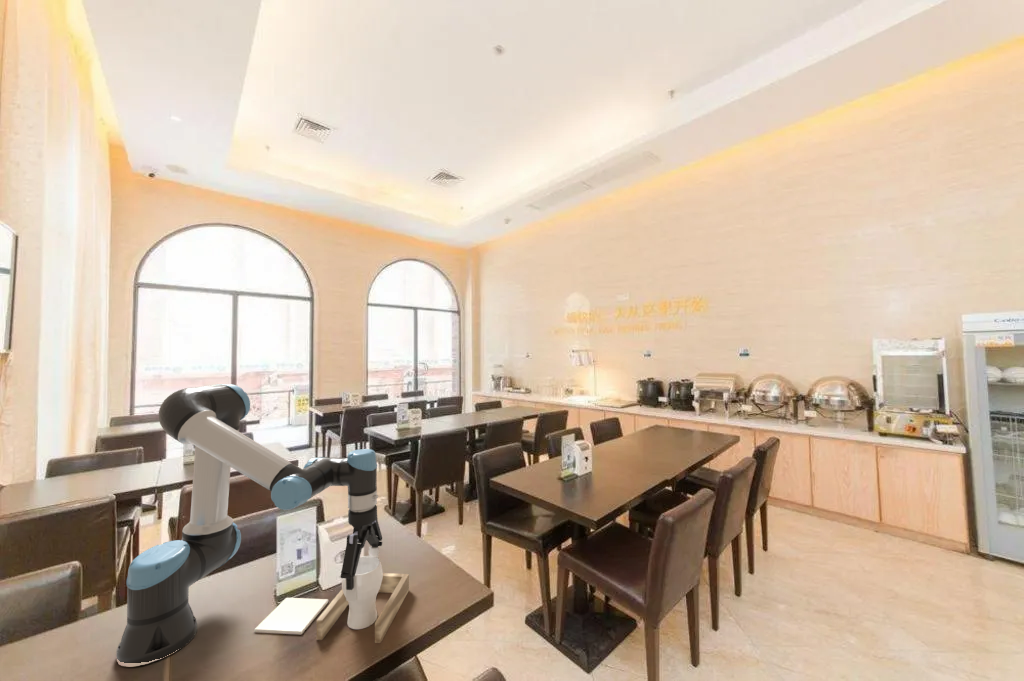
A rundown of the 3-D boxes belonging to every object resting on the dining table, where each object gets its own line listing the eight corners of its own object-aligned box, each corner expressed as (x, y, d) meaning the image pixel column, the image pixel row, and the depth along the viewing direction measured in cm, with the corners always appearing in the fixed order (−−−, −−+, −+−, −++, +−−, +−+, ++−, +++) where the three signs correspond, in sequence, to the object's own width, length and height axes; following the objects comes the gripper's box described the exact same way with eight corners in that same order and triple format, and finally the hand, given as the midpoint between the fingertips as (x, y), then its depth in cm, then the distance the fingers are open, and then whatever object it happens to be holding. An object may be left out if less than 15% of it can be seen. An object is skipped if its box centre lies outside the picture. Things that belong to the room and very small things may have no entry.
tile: (254, 632, 103) (254, 629, 103) (286, 600, 116) (286, 597, 116) (301, 634, 102) (301, 631, 102) (328, 602, 115) (328, 599, 115)
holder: (316, 639, 100) (316, 620, 100) (355, 588, 122) (355, 572, 122) (380, 643, 99) (380, 623, 99) (408, 590, 120) (408, 574, 120)
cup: (369, 636, 101) (369, 578, 102) (333, 630, 103) (333, 573, 104) (389, 609, 112) (389, 556, 112) (356, 604, 114) (356, 553, 114)
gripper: (354, 527, 95) (355, 615, 95) (392, 490, 120) (393, 559, 120) (325, 527, 96) (325, 614, 95) (369, 490, 121) (370, 559, 120)
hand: (363, 584), depth 108 cm, fingers open, 13 cm apart
